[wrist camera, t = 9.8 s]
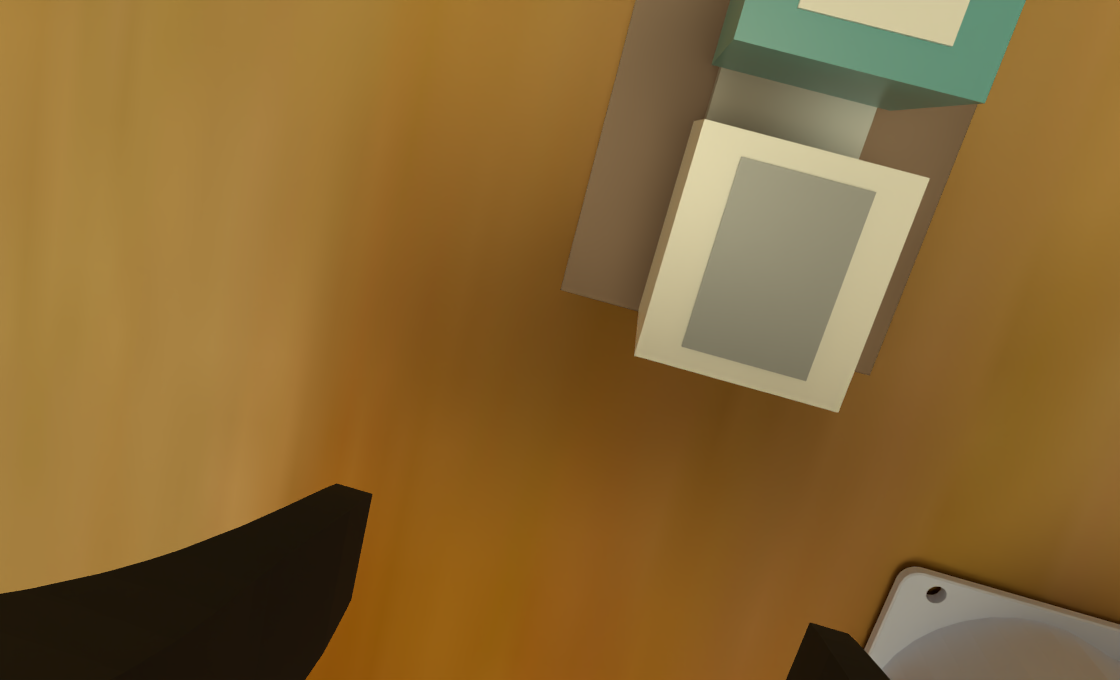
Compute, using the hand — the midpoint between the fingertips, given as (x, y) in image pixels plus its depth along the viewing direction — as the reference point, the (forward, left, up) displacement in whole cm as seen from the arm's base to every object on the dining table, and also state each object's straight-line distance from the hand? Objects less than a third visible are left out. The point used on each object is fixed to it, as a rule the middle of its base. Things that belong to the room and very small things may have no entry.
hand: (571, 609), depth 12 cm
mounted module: (-2, -6, -8) cm, 10 cm away
